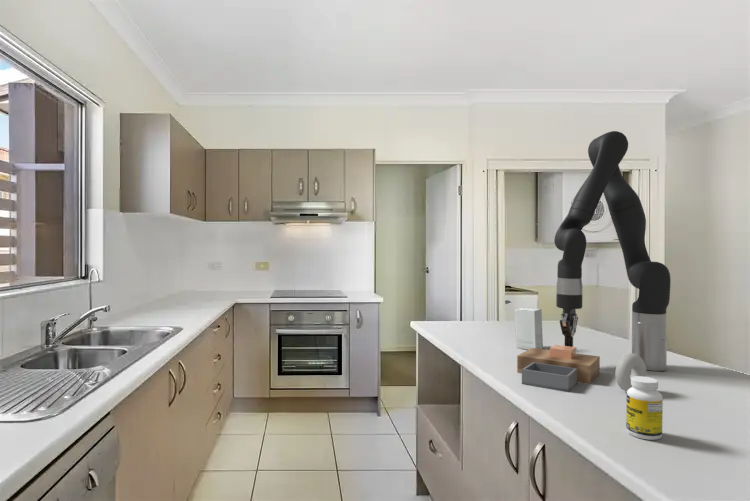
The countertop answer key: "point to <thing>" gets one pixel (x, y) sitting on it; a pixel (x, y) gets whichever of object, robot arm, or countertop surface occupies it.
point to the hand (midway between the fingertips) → (568, 348)
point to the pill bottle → (644, 409)
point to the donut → (629, 370)
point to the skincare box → (528, 328)
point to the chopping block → (562, 363)
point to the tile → (563, 351)
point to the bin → (549, 376)
